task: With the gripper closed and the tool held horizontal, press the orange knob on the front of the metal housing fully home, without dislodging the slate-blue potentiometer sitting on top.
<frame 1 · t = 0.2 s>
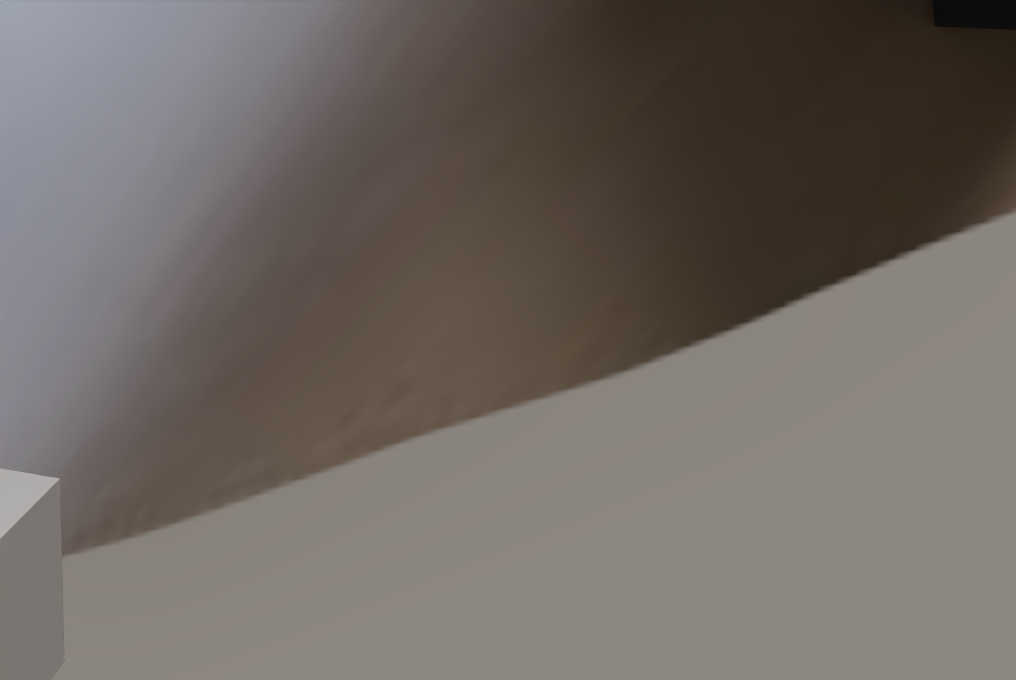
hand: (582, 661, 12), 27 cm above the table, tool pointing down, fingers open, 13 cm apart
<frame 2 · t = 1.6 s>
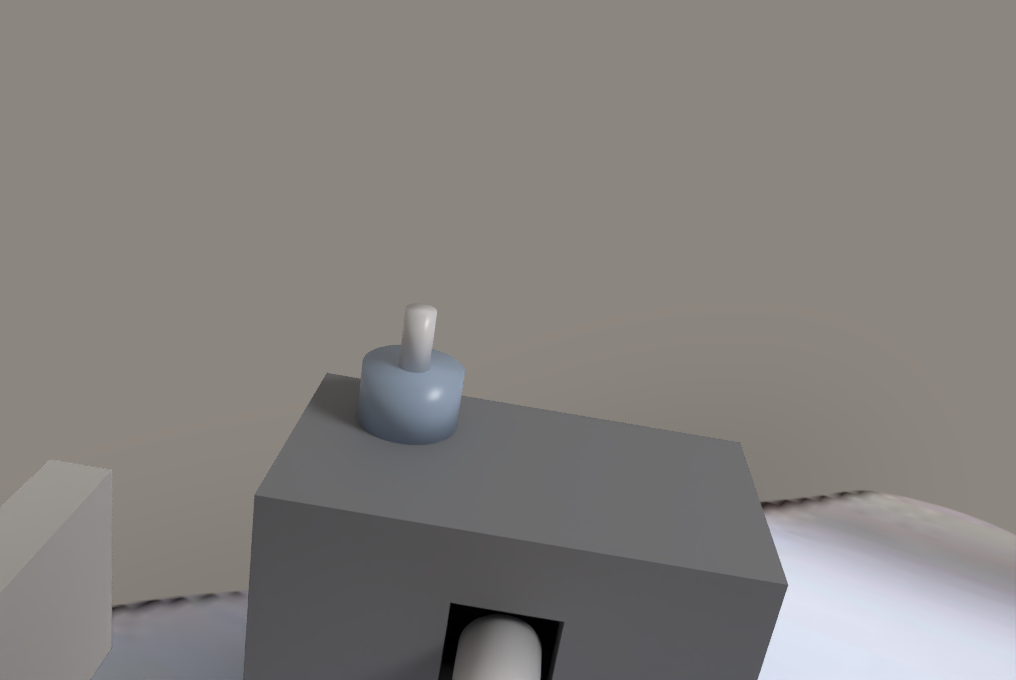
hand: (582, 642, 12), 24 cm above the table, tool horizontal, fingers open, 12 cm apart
potentiometer: (407, 420, 38), point 14 cm above the table, touching housing
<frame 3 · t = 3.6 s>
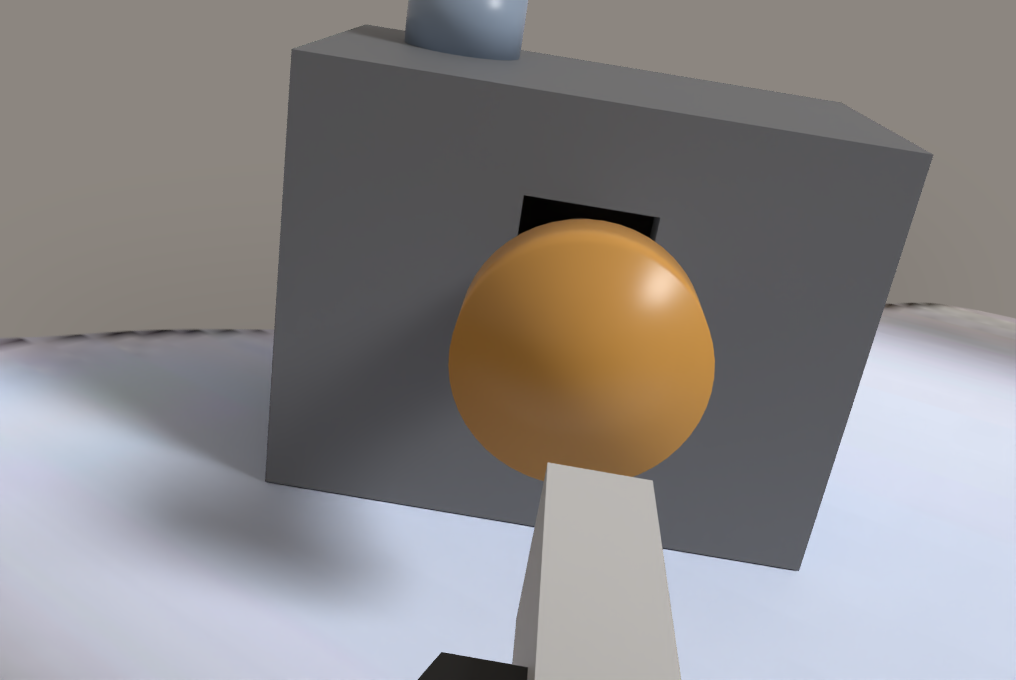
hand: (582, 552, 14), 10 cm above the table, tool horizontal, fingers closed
potentiometer: (462, 49, 33), point 14 cm above the table, touching housing
knob: (579, 311, 25), point 9 cm above the table, slide at 5.0 cm
housing: (537, 453, 36), on the table
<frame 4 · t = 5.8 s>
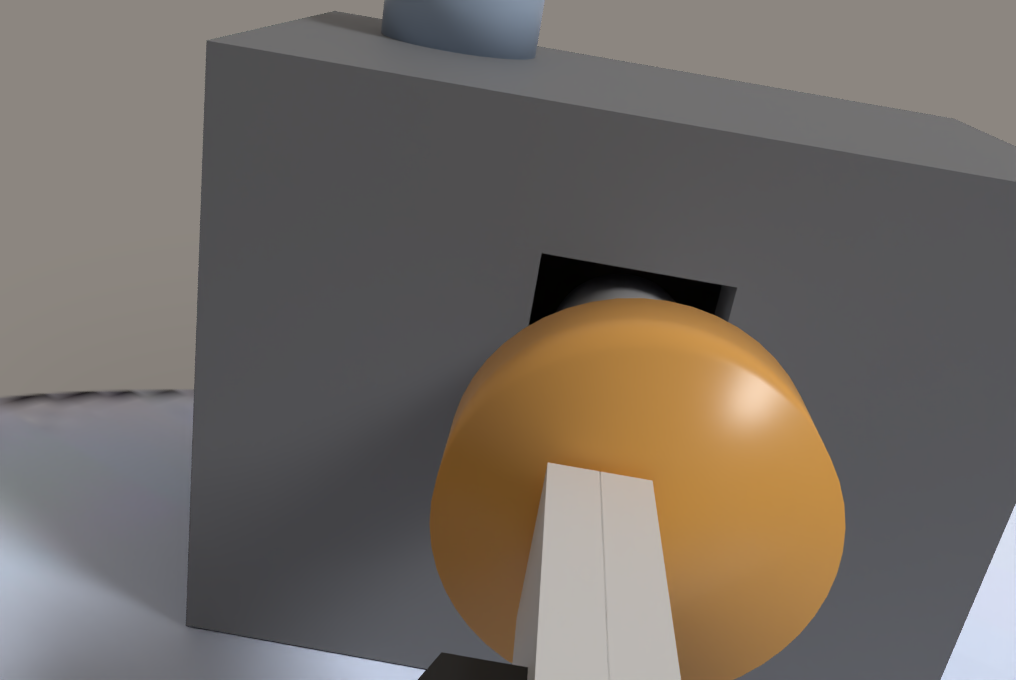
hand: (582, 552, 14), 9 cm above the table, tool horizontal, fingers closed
potentiometer: (458, 44, 25), point 14 cm above the table, touching housing
knob: (623, 417, 18), point 9 cm above the table, slide at 4.3 cm, touching gripper
housing: (552, 569, 28), on the table
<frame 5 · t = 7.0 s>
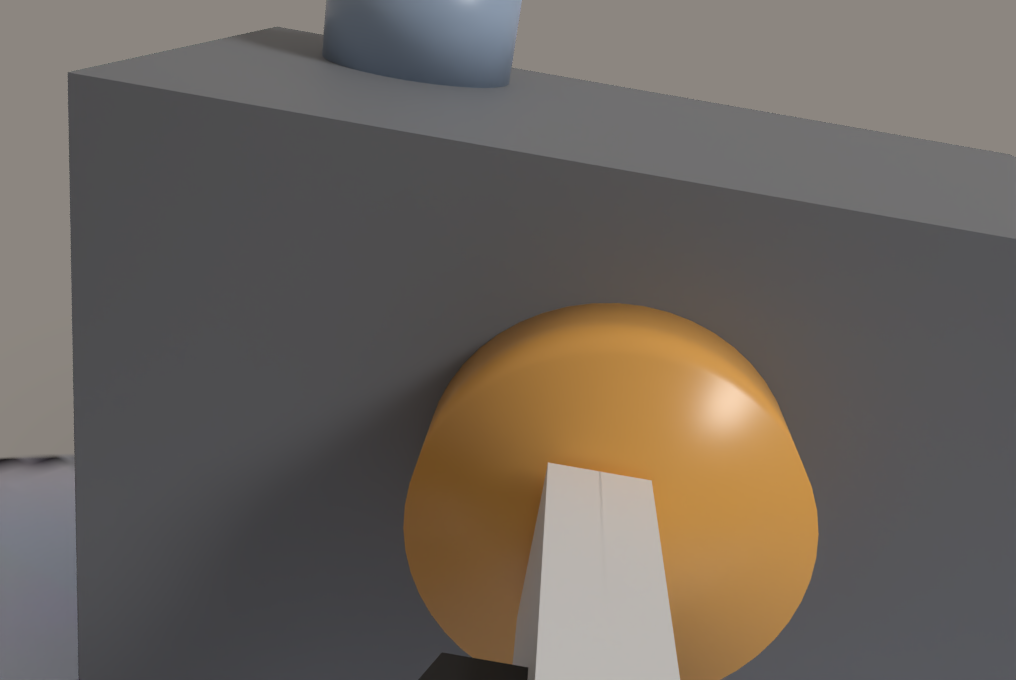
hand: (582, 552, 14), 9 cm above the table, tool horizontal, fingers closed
potentiometer: (416, 68, 20), point 14 cm above the table, touching housing
knob: (604, 422, 18), point 9 cm above the table, slide at -0.3 cm, touching gripper, housing
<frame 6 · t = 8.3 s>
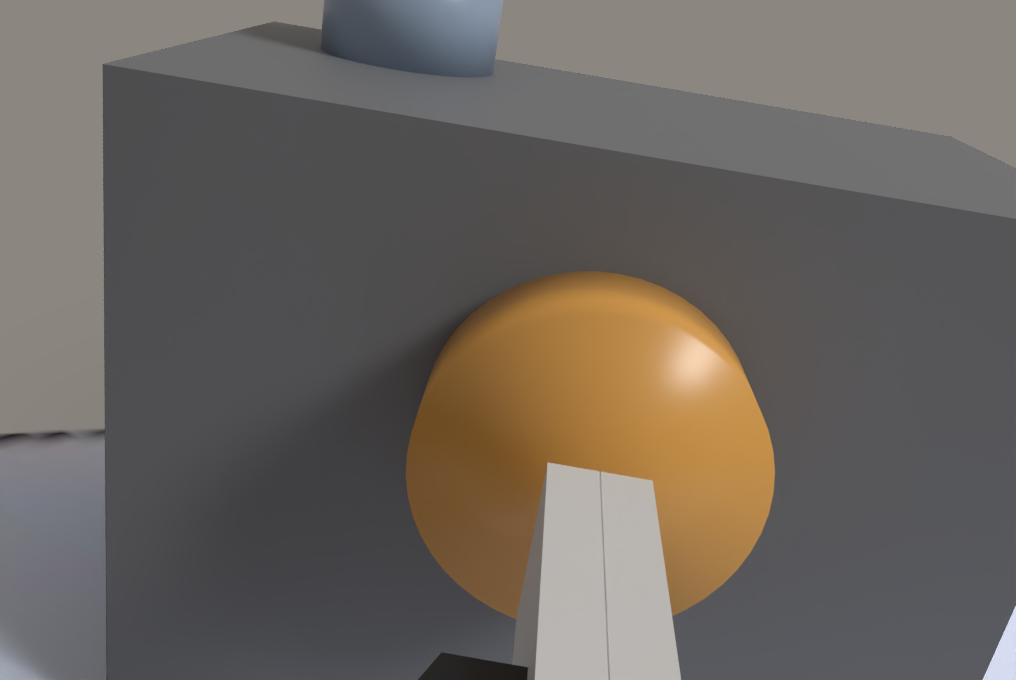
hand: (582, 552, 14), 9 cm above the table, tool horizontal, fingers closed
potentiometer: (407, 59, 22), point 14 cm above the table, touching housing
knob: (583, 383, 19), point 9 cm above the table, slide at -0.1 cm
housing: (519, 629, 26), on the table
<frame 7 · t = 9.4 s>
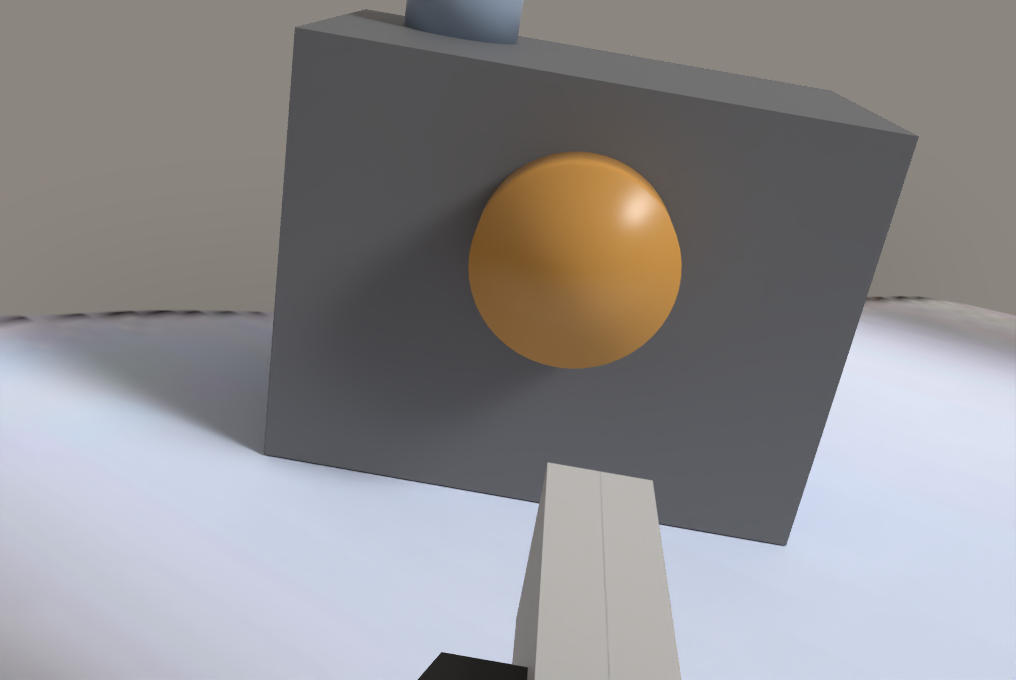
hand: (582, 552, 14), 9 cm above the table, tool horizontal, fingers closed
potentiometer: (460, 33, 34), point 14 cm above the table, touching housing
knob: (574, 234, 31), point 9 cm above the table, slide at -0.1 cm
housing: (531, 432, 37), on the table
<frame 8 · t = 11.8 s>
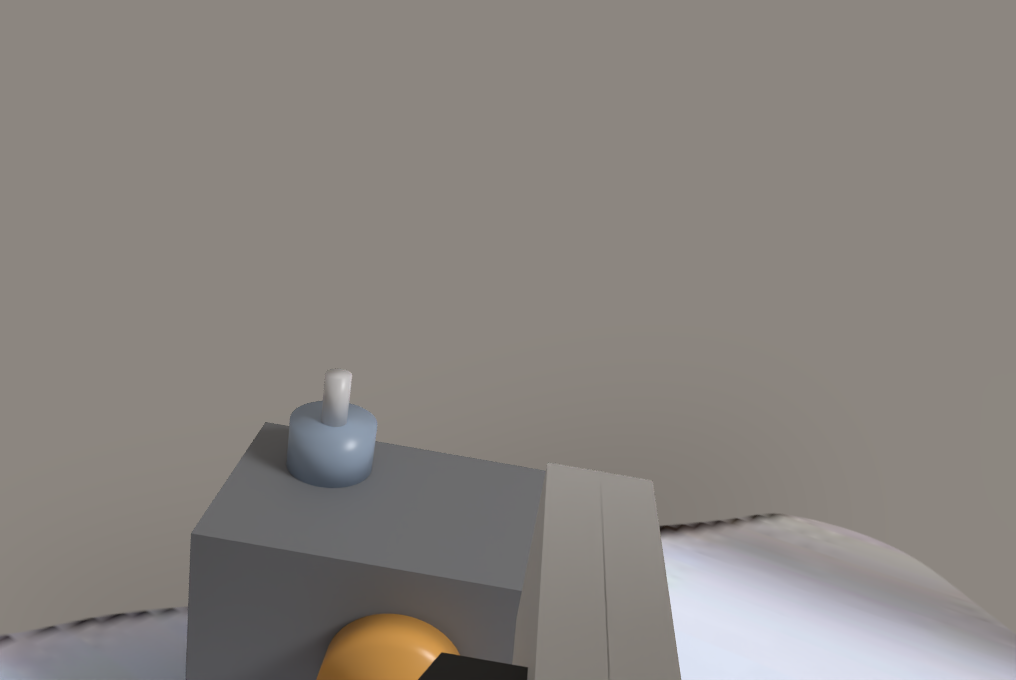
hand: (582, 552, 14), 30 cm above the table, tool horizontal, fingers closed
potentiometer: (329, 465, 45), point 14 cm above the table, touching housing
knob: (402, 641, 42), point 9 cm above the table, slide at -0.1 cm
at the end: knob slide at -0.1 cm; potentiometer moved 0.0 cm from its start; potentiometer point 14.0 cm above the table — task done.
